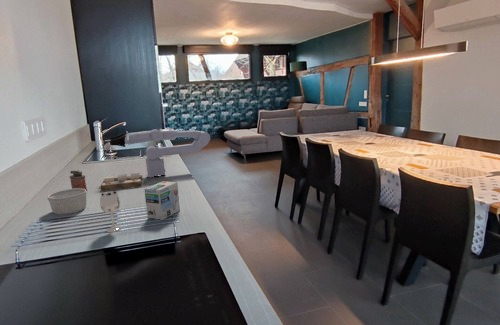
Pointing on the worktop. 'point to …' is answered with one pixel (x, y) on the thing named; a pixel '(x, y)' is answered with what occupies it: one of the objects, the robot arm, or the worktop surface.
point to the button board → (121, 184)
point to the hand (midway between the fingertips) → (110, 141)
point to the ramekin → (68, 201)
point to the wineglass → (110, 206)
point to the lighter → (77, 180)
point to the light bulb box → (162, 200)
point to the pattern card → (121, 182)
